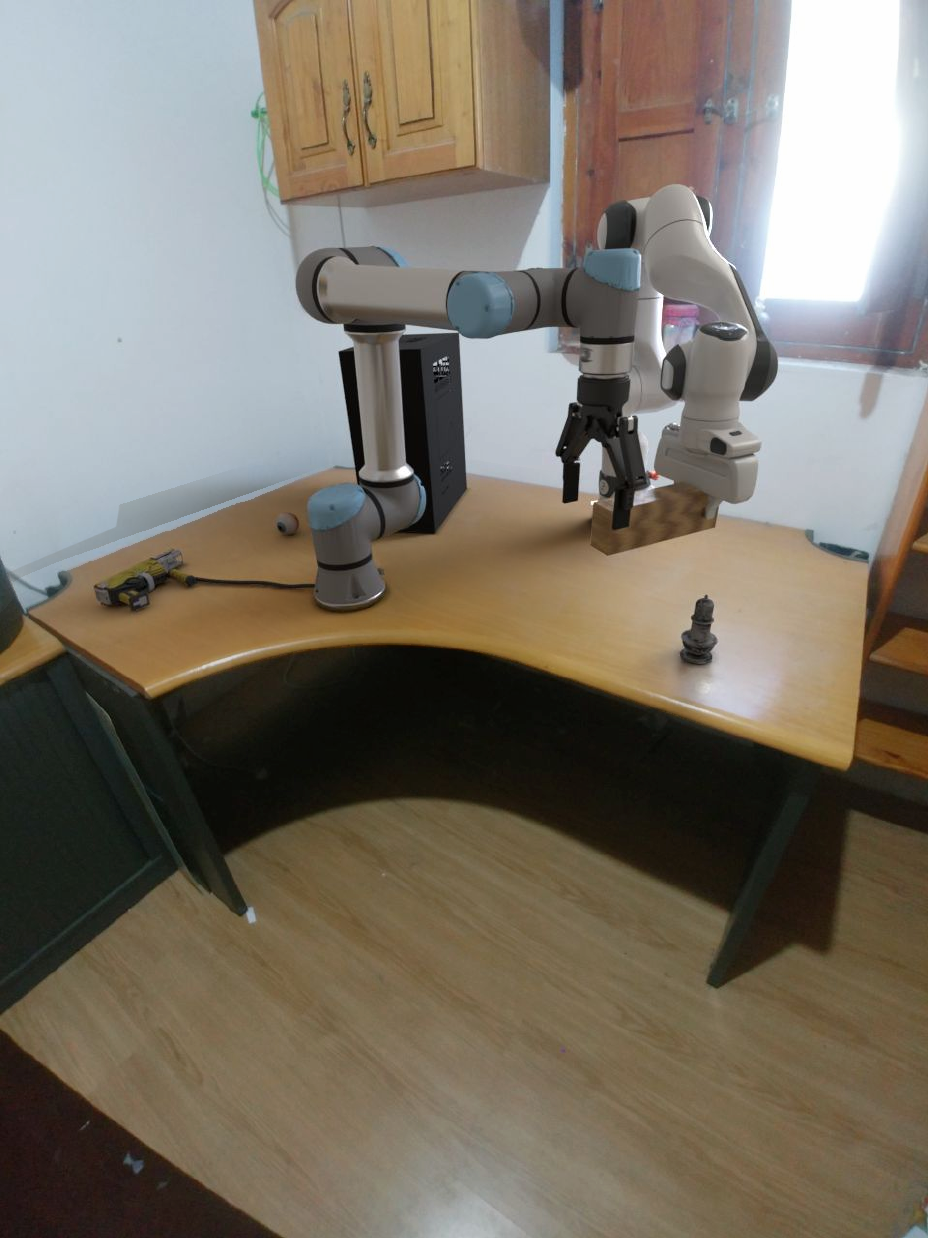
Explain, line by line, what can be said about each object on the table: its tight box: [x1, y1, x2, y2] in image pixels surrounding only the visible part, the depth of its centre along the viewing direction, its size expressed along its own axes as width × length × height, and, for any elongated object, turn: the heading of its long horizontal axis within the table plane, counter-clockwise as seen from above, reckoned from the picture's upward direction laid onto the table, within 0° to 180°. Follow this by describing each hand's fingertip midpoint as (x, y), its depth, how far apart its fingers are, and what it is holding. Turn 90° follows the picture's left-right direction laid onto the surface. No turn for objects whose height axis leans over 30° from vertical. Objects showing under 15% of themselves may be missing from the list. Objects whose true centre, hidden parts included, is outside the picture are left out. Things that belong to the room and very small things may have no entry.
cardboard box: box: [338, 332, 468, 534], centre depth 167 cm, size 38×20×45 cm, turn 167°
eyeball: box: [275, 511, 300, 536], centre depth 163 cm, size 6×6×6 cm
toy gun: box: [93, 548, 197, 612], centre depth 139 cm, size 5×24×15 cm
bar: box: [590, 482, 720, 557], centre depth 103 cm, size 23×5×8 cm, turn 115°
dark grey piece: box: [679, 593, 718, 665], centre depth 102 cm, size 6×6×12 cm
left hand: (593, 514), depth 98 cm, fingers open, 13 cm apart
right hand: (694, 512), depth 107 cm, fingers closed on bar, 5 cm apart
